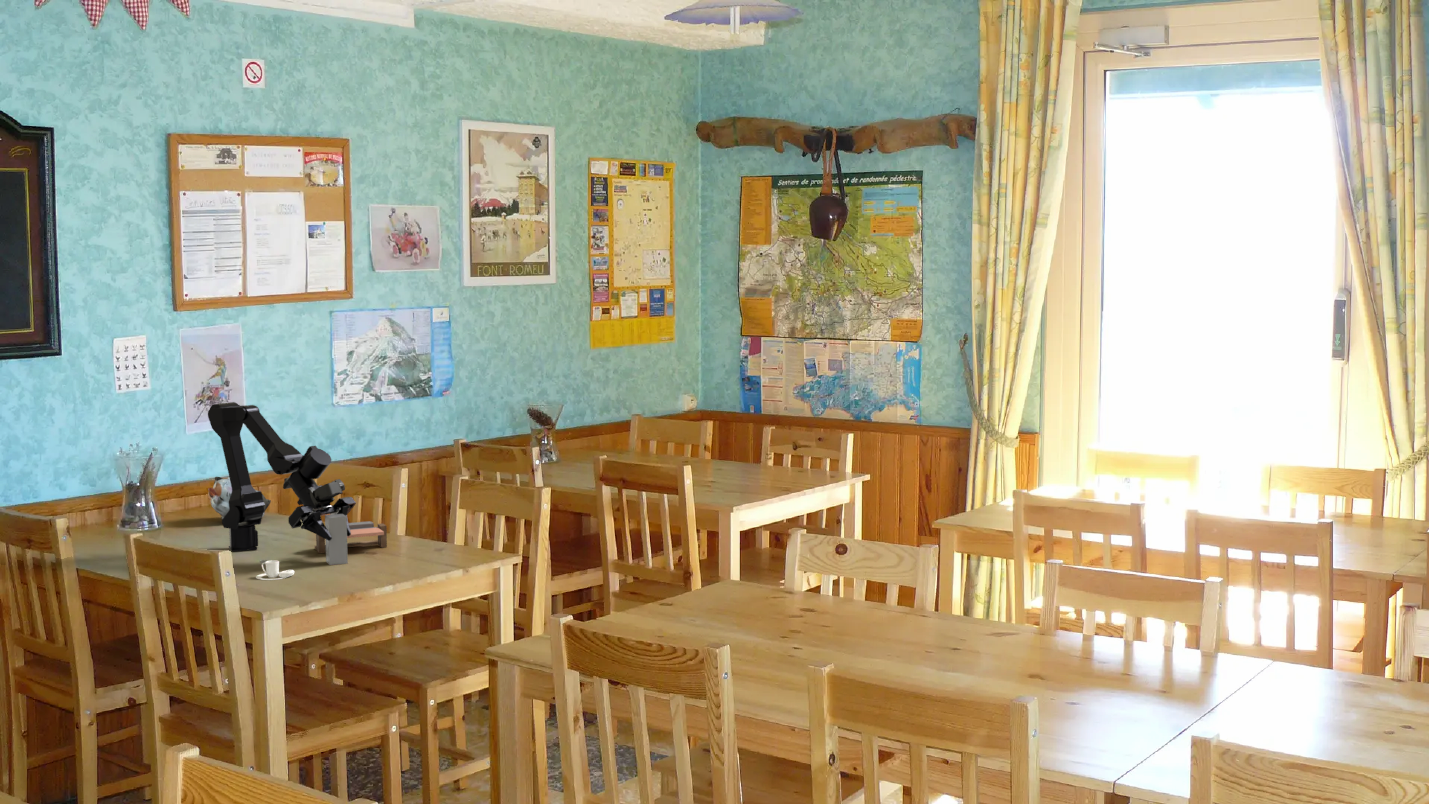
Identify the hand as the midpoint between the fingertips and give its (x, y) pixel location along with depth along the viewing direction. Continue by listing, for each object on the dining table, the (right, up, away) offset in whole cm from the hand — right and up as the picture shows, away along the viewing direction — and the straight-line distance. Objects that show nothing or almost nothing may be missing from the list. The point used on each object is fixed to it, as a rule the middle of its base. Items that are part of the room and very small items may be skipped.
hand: (340, 537), depth 339 cm
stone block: (-1, -7, +1) cm, 7 cm away
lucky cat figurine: (-46, -1, +58) cm, 74 cm away
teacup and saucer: (-11, -9, -17) cm, 22 cm away
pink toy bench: (-3, -5, +19) cm, 20 cm away
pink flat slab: (-1, -2, +17) cm, 17 cm away
